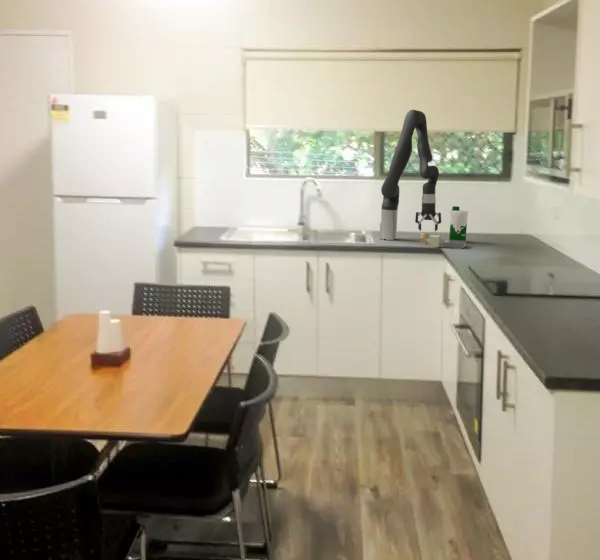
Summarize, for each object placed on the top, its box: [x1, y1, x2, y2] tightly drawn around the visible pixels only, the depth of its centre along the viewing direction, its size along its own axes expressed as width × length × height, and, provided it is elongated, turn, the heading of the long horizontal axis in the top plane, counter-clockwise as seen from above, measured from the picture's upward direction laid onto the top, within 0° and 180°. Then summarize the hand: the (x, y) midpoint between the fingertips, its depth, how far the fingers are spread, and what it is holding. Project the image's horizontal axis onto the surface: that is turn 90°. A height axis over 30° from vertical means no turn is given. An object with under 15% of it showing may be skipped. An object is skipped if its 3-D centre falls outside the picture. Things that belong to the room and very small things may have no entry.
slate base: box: [443, 239, 467, 249], centre depth 464 cm, size 11×11×3 cm
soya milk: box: [448, 205, 469, 242], centre depth 481 cm, size 9×9×20 cm
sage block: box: [429, 234, 441, 248], centre depth 462 cm, size 5×5×6 cm
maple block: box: [420, 232, 432, 245], centre depth 473 cm, size 5×5×6 cm
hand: (428, 230), depth 472 cm, fingers open, 8 cm apart
